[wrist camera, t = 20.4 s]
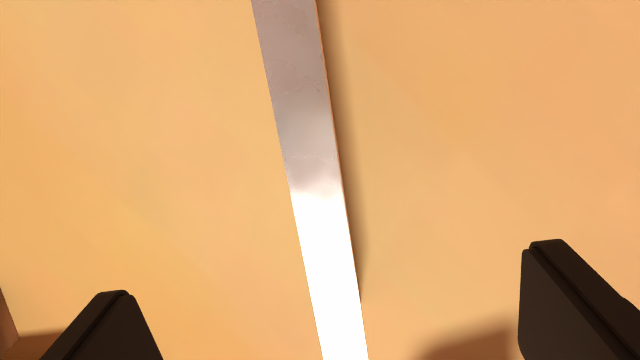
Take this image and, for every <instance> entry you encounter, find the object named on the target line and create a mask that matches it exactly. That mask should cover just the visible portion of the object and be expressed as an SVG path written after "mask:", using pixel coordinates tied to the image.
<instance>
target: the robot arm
mask: <svg viewBox="0 0 640 360" xmlns="http://www.w3.org/2000/svg"><path fill="white" fill-rule="evenodd" d="M518 344H519V348H520V351H521V353H522V355H523V357H524V359H525V360H640V311H639V310H638V309H637V308H636V307H635V306H634V305H633V304H632V303H631V302H629V301H628V300H627V299H625V298H623V297H622V296H621V295H619V294H618V293H617V292H616V291H615V290H614V289H613V288H612V287H611V286H610V285H609V284H608V283H607V282H606V281H605V280H604V279H603V278H602V277H601V276H600V275H599V274H598V273H597V272H596V271H595V270H594V269H593V268H592V267H591V266H589V265H588V264H587V263H586V262H585V261H584V260H583V259H582V258H581V257H580V256H579V255H578V254H577V253H576V252H575V251H574V250H573V249H572V248H571V247H570V246H569V245H568V244H567V243H566V242H565V241H563V240H562V239H552V240H544V241H535V242H532V243H531V244H530V246H529V249H525V250H523V252H522V262H521V282H520V302H519V322H518ZM39 360H163V358H162V356H161V353H160V351H159V349H158V347H157V345H156V342H155V340H154V338H153V336H152V334H151V332H150V329H149V327H148V325H147V323H146V321H145V318H144V316H143V314H142V312H141V310H140V308H139V305H138V303H137V301H136V299H135V297H134V296H132V295H129V293H128V292H127V291H125V290H115V291H107V292H101V293H98V294H97V295H96V296H95V297H94V298H93V299H92V300H91V301H90V302H89V303H88V305H87V306H86V307H85V308H84V309H83V310H82V311H81V313H80V314H79V315H78V316H77V317H76V318H75V319H74V321H73V322H72V323H71V324H70V325H69V326H68V327H67V329H66V330H65V331H64V332H63V333H62V334H61V335H60V337H59V338H58V339H57V340H56V341H55V342H54V343H53V345H52V346H51V347H50V348H49V349H48V350H47V351H46V353H45V354H44V355H43V356H42V357H41V358H40V359H39Z"/></svg>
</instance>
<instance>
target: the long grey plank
mask: <svg viewBox="0 0 640 360" xmlns="http://www.w3.org/2000/svg"><path fill="white" fill-rule="evenodd" d="M251 3H252V8H253V13H254V18H255V23H256V28H257V32H258V37H259V42H260V47H261V52H262V57H263V62H264V67H265V72H266V77H267V81H268V86H269V91H270V96H271V101H272V106H273V111H274V116H275V121H276V126H277V130H278V135H279V140H280V145H281V150H282V155H283V160H284V165H285V170H286V175H287V179H288V184H289V189H290V194H291V199H292V204H293V209H294V214H295V219H296V224H297V228H298V233H299V238H300V243H301V248H302V253H303V258H304V263H305V268H306V273H307V277H308V282H309V287H310V292H311V297H312V302H313V307H314V312H315V317H316V322H317V326H318V331H319V336H320V341H321V346H322V351H323V356H324V360H368V357H367V349H366V341H365V333H364V325H363V317H362V309H361V302H360V295H359V288H358V281H357V275H356V268H355V261H354V254H353V248H352V241H351V234H350V227H349V221H348V214H347V207H346V200H345V194H344V187H343V180H342V173H341V167H340V160H339V153H338V146H337V140H336V133H335V126H334V119H333V113H332V106H331V99H330V92H329V86H328V79H327V72H326V65H325V59H324V52H323V45H322V38H321V32H320V25H319V18H318V11H317V5H316V0H251Z"/></svg>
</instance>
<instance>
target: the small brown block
mask: <svg viewBox="0 0 640 360" xmlns="http://www.w3.org/2000/svg"><path fill="white" fill-rule="evenodd" d="M19 339H20V338H19V335H18V333H17V330H16V327H15V325H14V322H13V320H12V317H11V314H10V312H9V309H8V307H7V304H6V301H5V299H4V296H3V294H2V291H1V288H0V358H1V357H2V356H3V355H4V354H5V353H6V352H7V351H8V350H9V349H10V348H11V347H12V346H13V345H14V344H15V343H16V342H17V341H18V340H19Z"/></svg>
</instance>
